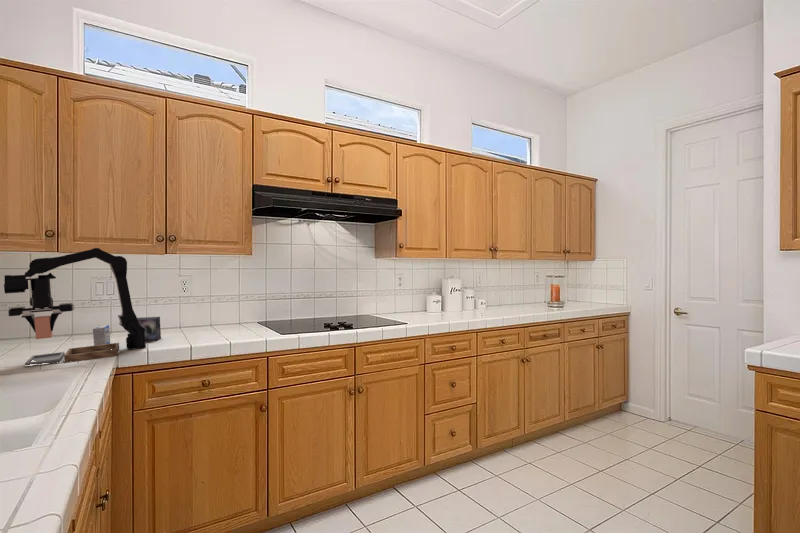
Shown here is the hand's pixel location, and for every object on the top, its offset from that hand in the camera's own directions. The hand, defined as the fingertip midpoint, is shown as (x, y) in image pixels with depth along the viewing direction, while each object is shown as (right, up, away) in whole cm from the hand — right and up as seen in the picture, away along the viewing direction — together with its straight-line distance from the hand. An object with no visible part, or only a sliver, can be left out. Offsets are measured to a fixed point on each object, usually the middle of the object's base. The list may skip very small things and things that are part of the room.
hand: (44, 331), depth 165 cm
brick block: (0, -2, 0) cm, 2 cm away
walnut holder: (+13, -11, +8) cm, 19 cm away
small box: (+19, -10, +35) cm, 41 cm away
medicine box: (+5, -10, +26) cm, 28 cm away
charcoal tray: (0, -11, +1) cm, 11 cm away
